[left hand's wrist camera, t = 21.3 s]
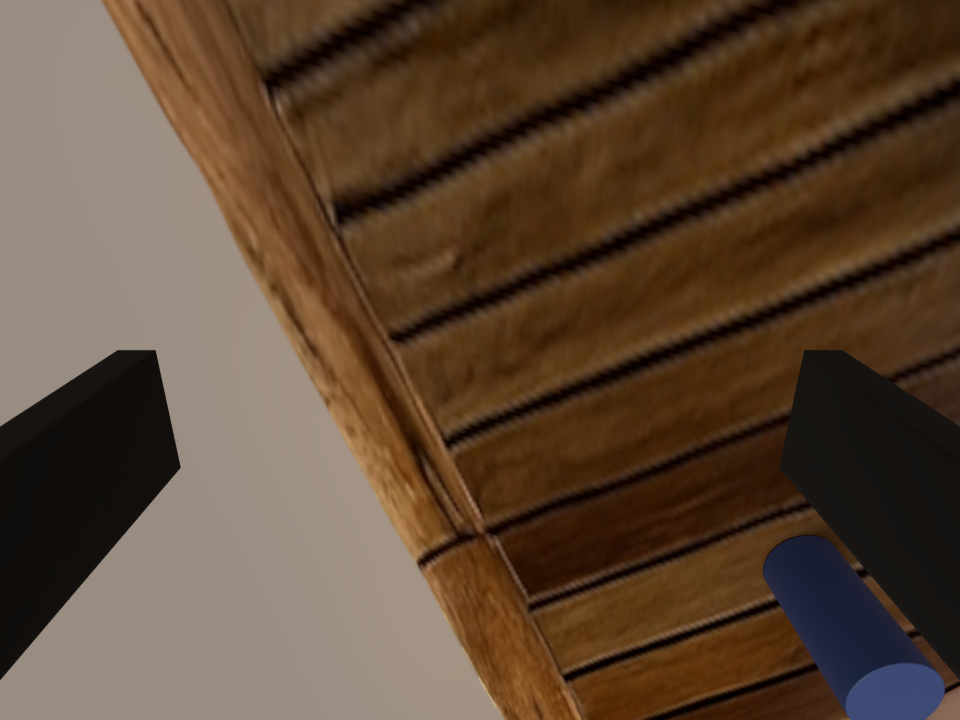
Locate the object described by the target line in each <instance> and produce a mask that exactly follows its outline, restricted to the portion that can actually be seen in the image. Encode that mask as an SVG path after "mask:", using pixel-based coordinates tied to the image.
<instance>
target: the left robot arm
mask: <svg viewBox="0 0 960 720" xmlns="http://www.w3.org/2000/svg"><path fill="white" fill-rule="evenodd" d="M180 468H181V467H180V462H179V457H178V453H177V448H176V443H175V439H174V434H173V429H172V425H171V420H170V415H169V411H168V406H167V401H166V397H165V392H164V387H163V383H162V378H161V373H160V369H159V364H158V359H157V354H156V351H155V350H117V351H116V352H114V353H113V354H111V355H110V356H108V357H107V358H105V359H104V360H102V361H100V362H99V363H97V364H96V365H94V366H93V367H91V368H90V369H88V370H87V371H85V372H83V373H82V374H80V375H79V376H77V377H76V378H74V379H73V380H71V381H70V382H68V383H67V384H65V385H63V386H62V387H60V388H59V389H57V390H56V391H54V392H53V393H51V394H50V395H48V396H47V397H45V398H43V399H42V400H40V401H39V402H37V403H36V404H34V405H33V406H31V407H30V408H28V409H26V410H25V411H23V412H22V413H20V414H19V415H17V416H16V417H14V418H13V419H11V420H10V421H8V422H6V423H5V424H3V425H2V426H0V680H1V679H2V677H3V676H4V675H5V674H6V673H7V672H8V670H9V669H10V668H11V667H12V666H13V665H14V663H15V662H16V661H17V660H18V659H19V657H20V656H21V655H22V654H23V653H24V652H25V650H26V649H27V648H28V647H29V646H30V644H31V643H32V642H33V641H34V640H35V639H36V637H37V636H38V635H39V634H40V633H41V632H42V630H43V629H44V628H45V627H46V626H47V625H48V623H49V622H50V621H51V620H52V619H53V617H54V616H55V615H56V614H57V613H58V612H59V610H60V609H61V608H62V607H63V606H64V604H65V603H66V602H67V601H68V600H69V599H70V597H71V596H72V595H73V594H74V593H75V592H76V590H77V589H78V588H79V587H80V586H81V584H82V583H83V582H84V581H85V580H86V579H87V577H88V576H89V575H90V574H91V573H92V572H93V570H94V569H95V568H96V567H97V566H98V564H99V563H100V562H101V561H102V560H103V559H104V557H105V556H106V555H107V554H108V553H109V551H110V550H111V549H112V548H113V547H114V546H115V544H116V543H117V542H118V541H119V540H120V539H121V537H122V536H123V535H124V534H125V533H126V531H127V530H128V529H129V528H130V527H131V526H132V524H133V523H134V522H135V521H136V520H137V519H138V517H139V516H140V515H141V514H142V513H143V511H144V510H145V509H146V508H147V507H148V506H149V504H150V503H151V502H152V501H153V500H154V498H155V497H156V496H157V495H158V494H159V493H160V491H161V490H162V489H163V488H164V487H165V485H166V484H167V483H168V482H169V481H170V480H171V478H172V477H173V476H174V475H175V474H176V473H177V471H178V470H179V469H180ZM779 468H780V469H781V470H782V471H783V473H784V474H785V475H786V476H787V477H788V478H789V480H790V481H791V482H792V483H793V484H794V486H795V487H796V488H797V489H798V490H799V491H800V493H801V494H802V495H803V496H804V497H805V498H806V500H807V501H808V502H809V503H810V504H811V506H812V507H813V508H814V509H815V510H816V511H817V513H818V514H819V515H820V516H821V517H822V519H823V520H824V521H825V522H826V523H827V524H828V526H829V527H830V528H831V529H832V530H833V531H834V533H835V534H836V535H837V536H838V537H839V539H840V540H841V541H842V542H843V543H844V544H845V546H846V547H847V548H848V549H849V550H850V551H851V553H852V554H853V555H854V556H855V557H856V559H857V560H858V561H859V562H860V563H861V564H862V566H863V567H864V568H865V569H866V570H867V572H868V573H869V574H870V575H871V576H872V577H873V579H874V580H875V581H876V582H877V583H878V584H879V586H880V587H881V588H882V589H883V590H884V592H885V593H886V594H887V595H888V596H889V597H890V599H891V600H892V601H893V602H894V603H895V604H896V606H897V607H898V608H899V609H900V610H901V612H902V613H903V614H904V615H905V616H906V617H907V619H908V620H909V621H910V622H911V623H912V625H913V626H914V627H915V628H916V629H917V630H918V632H919V633H920V634H921V635H922V636H923V637H924V639H925V640H926V641H927V642H928V643H929V645H930V646H931V647H932V648H933V649H934V650H935V652H936V653H937V654H938V655H939V656H940V657H941V659H942V660H943V661H944V662H945V663H946V665H947V666H948V667H949V668H950V669H951V670H952V672H953V673H954V674H955V675H956V676H957V678H958V679H959V680H960V426H958V425H957V424H955V423H954V422H952V421H950V420H949V419H947V418H946V417H944V416H943V415H941V414H940V413H938V412H937V411H935V410H934V409H932V408H930V407H929V406H927V405H926V404H924V403H923V402H921V401H920V400H918V399H917V398H915V397H914V396H912V395H910V394H909V393H907V392H906V391H904V390H903V389H901V388H900V387H898V386H897V385H895V384H893V383H892V382H890V381H889V380H887V379H886V378H884V377H883V376H881V375H880V374H878V373H877V372H875V371H873V370H872V369H870V368H869V367H867V366H866V365H864V364H863V363H861V362H860V361H858V360H856V359H855V358H853V357H852V356H850V355H849V354H847V353H846V352H844V351H843V350H804V354H803V359H802V364H801V368H800V373H799V378H798V383H797V387H796V392H795V397H794V401H793V406H792V411H791V415H790V420H789V425H788V429H787V434H786V439H785V443H784V448H783V453H782V457H781V462H780V467H779Z"/></svg>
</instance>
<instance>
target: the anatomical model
mask: <svg viewBox="0 0 960 720" xmlns="http://www.w3.org/2000/svg"><path fill="white" fill-rule="evenodd" d="M925 720H960V686H958V687H956V688H954V689H952V690H950V691H948V692H946V693H945V694H944V697H943V699H942V702H941V703H940V705H939V707H938V708H937V709H936V710H935V711H934V712H933V713H932V714H931V715H930V716H929V717H927V718H926V719H925Z"/></svg>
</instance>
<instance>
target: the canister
mask: <svg viewBox="0 0 960 720" xmlns="http://www.w3.org/2000/svg"><path fill="white" fill-rule="evenodd" d="M763 573H764V578H765V581H766V582H767V584H768V586H769V587H770V589H771V591H772V592H773V594H774V596H775V597H776V599H777V600H778V602H779V604H780V605H781V607H782V609H783V610H784V612H785V614H786V615H787V617H788V619H789V620H790V622H791V623H792V625H793V627H794V628H795V630H796V632H797V633H798V635H799V637H800V638H801V640H802V641H803V643H804V645H805V646H806V648H807V650H808V651H809V653H810V655H811V656H812V658H813V660H814V661H815V663H816V664H817V666H818V668H819V669H820V671H821V673H822V674H823V676H824V678H825V679H826V681H827V682H828V684H829V686H830V687H831V689H832V691H833V692H834V694H835V696H836V697H837V699H838V700H839V702H840V704H841V705H842V707H843V709H844V710H845V712H846V714H847V715H848V717H849V718H850V720H925V719H926V718H927V717H929V716H930V715H931V714H932V713H933V712H934V711H935V710H936V709H937V708H938V707H939V705H940V703H941V702H942V699H943V697H944V693H945V686H944V682H943V679H942V677H941V676H940V674H939V673H938V672H937V671H936V670H935V668H934V667H933V666H932V665H931V663H930V662H929V661H928V660H927V659H926V657H925V656H924V655H923V654H922V652H921V651H920V650H919V649H918V648H917V646H916V645H915V644H914V643H913V642H912V640H911V639H910V638H909V637H908V635H907V634H906V633H905V632H904V631H903V629H902V628H901V627H900V626H899V624H898V623H897V622H896V621H895V620H894V618H893V617H892V616H891V615H890V613H889V612H888V611H887V610H886V609H885V607H884V606H883V605H882V604H881V602H880V601H879V600H878V599H877V598H876V596H875V595H874V594H873V593H872V591H871V590H870V589H869V588H868V587H867V585H866V584H865V583H864V582H863V580H862V579H861V578H860V577H859V576H858V574H857V573H856V572H855V571H854V569H853V568H852V567H851V566H850V565H849V563H848V562H847V561H846V560H845V558H844V557H843V556H842V555H841V554H840V552H839V551H838V550H837V549H836V547H835V546H834V545H833V544H832V543H831V542H829V541H828V540H826V539H824V538H821V537H817V536H808V535H807V536H799V537H794V538H791V539H789V540H786V541H784V542H783V543H781V544H779V545H778V546H777V547H776V548H774V549H773V550H772V551H771V553H770V554H769V555H768V557H767V559H766V561H765V564H764V569H763Z"/></svg>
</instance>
